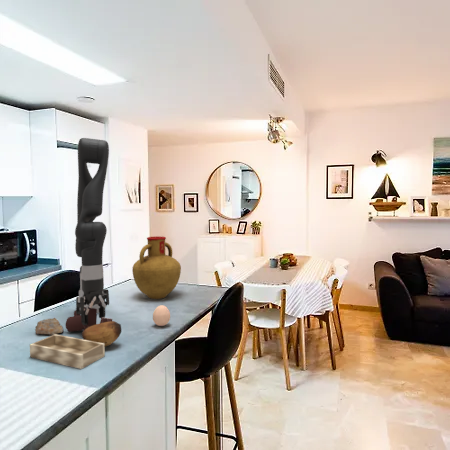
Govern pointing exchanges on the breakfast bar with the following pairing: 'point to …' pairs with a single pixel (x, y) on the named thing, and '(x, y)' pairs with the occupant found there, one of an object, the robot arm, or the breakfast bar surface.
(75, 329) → the bracket
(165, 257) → the vase
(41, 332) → the rock
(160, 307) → the egg
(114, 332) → the potato
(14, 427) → the breakfast bar surface
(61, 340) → the wooden tray
